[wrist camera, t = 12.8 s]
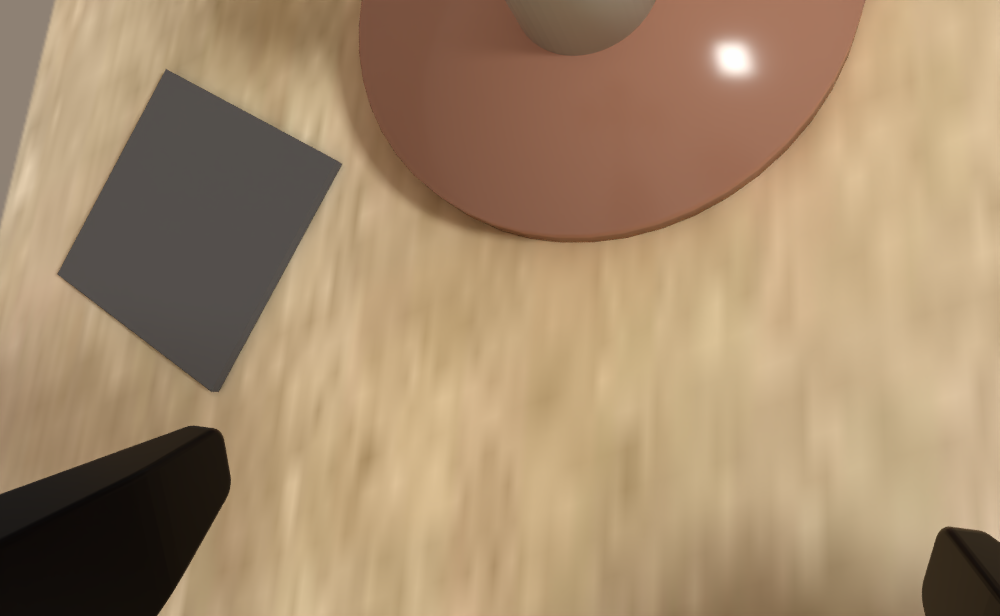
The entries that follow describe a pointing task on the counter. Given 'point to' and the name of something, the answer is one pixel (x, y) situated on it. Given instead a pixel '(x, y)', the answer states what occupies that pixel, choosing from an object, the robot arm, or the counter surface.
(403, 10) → the terracotta plate
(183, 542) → the robot arm
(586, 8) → the sage canister
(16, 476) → the counter surface
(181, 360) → the rubber mat
